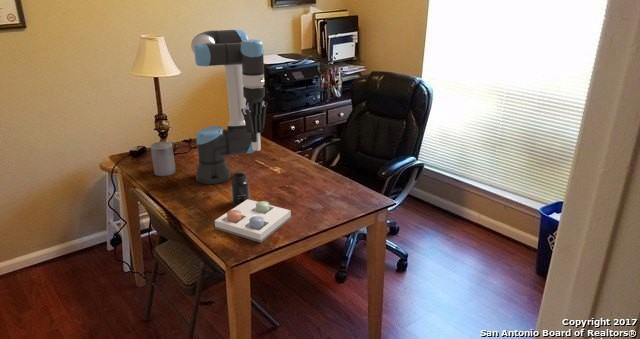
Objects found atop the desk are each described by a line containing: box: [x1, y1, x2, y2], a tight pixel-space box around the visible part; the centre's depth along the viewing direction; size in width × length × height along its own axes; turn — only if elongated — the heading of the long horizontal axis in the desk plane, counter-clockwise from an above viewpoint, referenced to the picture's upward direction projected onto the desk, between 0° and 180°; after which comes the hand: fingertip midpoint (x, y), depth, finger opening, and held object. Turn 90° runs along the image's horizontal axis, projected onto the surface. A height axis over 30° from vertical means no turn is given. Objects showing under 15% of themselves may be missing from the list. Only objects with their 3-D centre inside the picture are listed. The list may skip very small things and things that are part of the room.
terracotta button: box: [226, 209, 241, 224], centre depth 170 cm, size 5×5×4 cm
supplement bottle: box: [230, 172, 250, 206], centre depth 188 cm, size 7×7×12 cm
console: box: [214, 198, 292, 244], centre depth 173 cm, size 20×20×3 cm
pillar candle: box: [149, 141, 177, 177], centre depth 215 cm, size 10×10×15 cm
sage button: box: [256, 200, 270, 214], centre depth 177 cm, size 5×5×4 cm
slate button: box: [250, 216, 264, 230], centre depth 166 cm, size 5×5×4 cm
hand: (256, 149), depth 171 cm, fingers closed
